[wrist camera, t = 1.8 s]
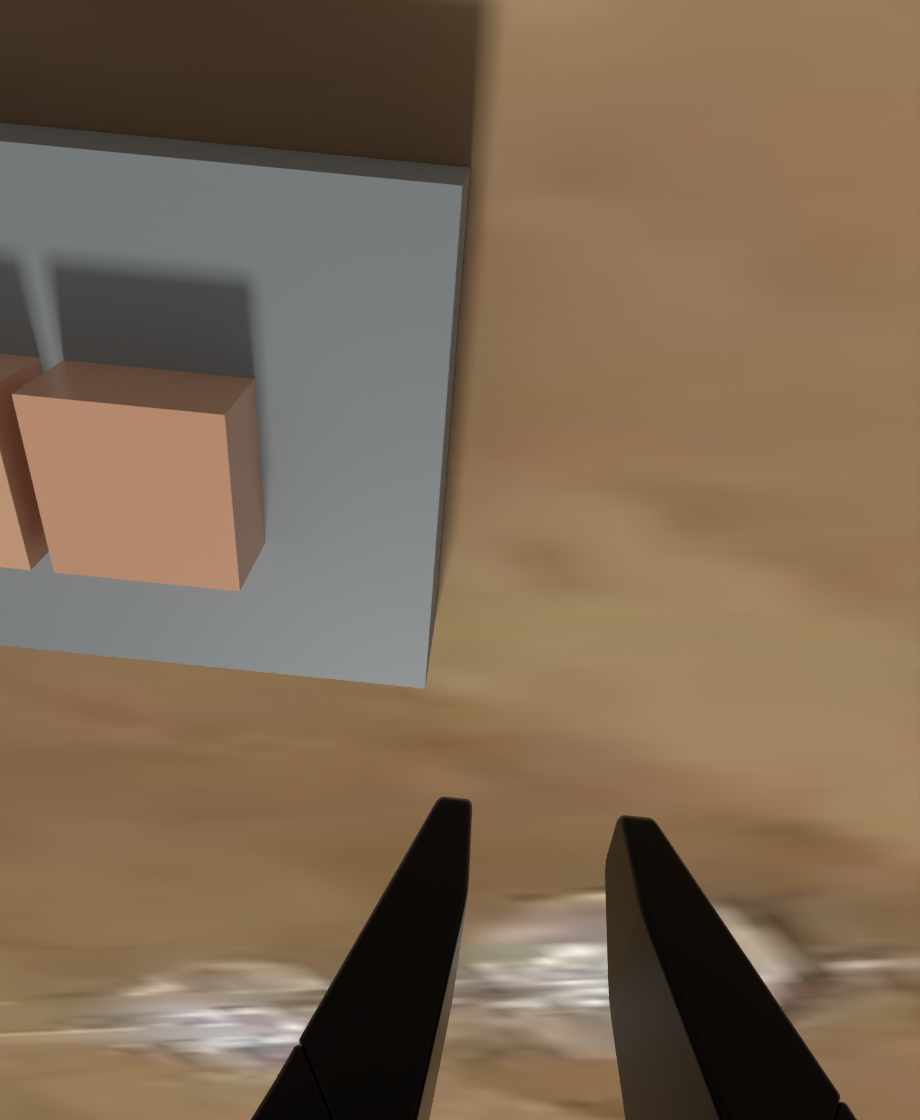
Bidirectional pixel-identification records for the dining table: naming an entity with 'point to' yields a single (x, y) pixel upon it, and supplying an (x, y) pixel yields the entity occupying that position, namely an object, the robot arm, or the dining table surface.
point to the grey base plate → (280, 380)
